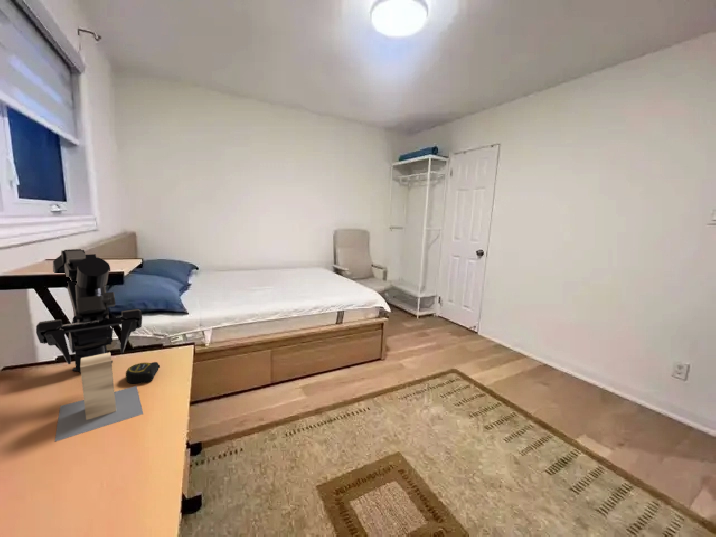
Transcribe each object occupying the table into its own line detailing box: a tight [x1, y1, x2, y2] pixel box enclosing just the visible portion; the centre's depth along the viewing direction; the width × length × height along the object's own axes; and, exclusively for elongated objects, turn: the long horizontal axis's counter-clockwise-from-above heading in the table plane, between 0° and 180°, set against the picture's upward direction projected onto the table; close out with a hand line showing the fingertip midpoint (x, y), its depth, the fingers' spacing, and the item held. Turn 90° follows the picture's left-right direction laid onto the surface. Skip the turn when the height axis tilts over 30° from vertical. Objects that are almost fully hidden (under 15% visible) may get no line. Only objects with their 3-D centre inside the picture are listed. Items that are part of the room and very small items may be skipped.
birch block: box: [80, 352, 116, 420], centre depth 68 cm, size 5×5×12 cm
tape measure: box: [125, 361, 161, 385], centre depth 82 cm, size 7×7×4 cm
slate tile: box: [54, 385, 144, 442], centre depth 69 cm, size 14×14×1 cm
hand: (96, 357), depth 70 cm, fingers open, 9 cm apart
